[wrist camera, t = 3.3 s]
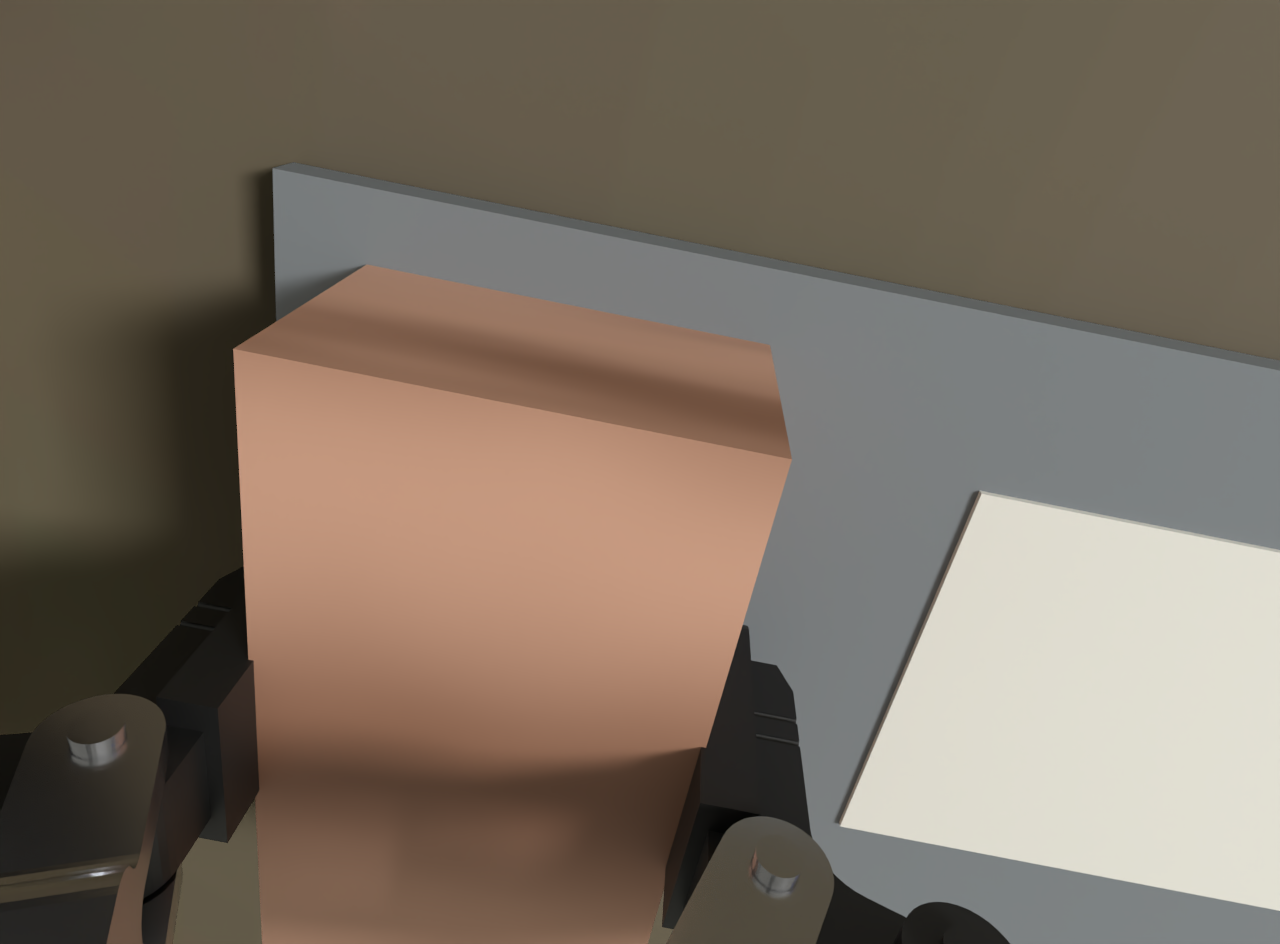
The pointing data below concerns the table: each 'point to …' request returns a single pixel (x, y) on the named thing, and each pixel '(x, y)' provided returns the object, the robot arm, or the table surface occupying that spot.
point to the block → (489, 604)
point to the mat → (959, 565)
